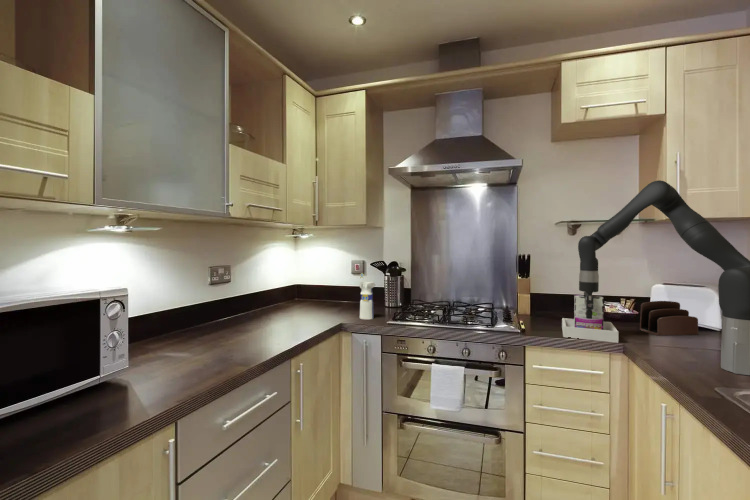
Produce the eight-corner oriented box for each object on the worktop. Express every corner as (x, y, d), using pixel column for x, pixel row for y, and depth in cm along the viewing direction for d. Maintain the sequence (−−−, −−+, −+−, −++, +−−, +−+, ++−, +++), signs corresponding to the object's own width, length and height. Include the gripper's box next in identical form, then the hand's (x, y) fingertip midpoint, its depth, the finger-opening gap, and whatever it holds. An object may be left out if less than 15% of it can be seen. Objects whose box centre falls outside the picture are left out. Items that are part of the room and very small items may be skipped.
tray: (618, 342, 148) (618, 331, 148) (563, 337, 157) (563, 326, 157) (610, 331, 166) (611, 322, 166) (562, 327, 175) (562, 318, 175)
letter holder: (639, 330, 170) (639, 300, 169) (678, 329, 171) (678, 300, 171) (657, 336, 160) (658, 304, 159) (698, 335, 162) (699, 303, 161)
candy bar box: (602, 332, 161) (602, 296, 161) (603, 335, 157) (604, 297, 157) (573, 329, 166) (574, 294, 166) (574, 332, 162) (574, 295, 161)
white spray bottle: (372, 320, 189) (373, 272, 189) (357, 319, 191) (357, 272, 191) (376, 316, 197) (376, 271, 197) (361, 316, 199) (361, 270, 199)
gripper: (600, 282, 153) (599, 320, 153) (596, 279, 166) (596, 314, 166) (580, 281, 156) (579, 319, 157) (578, 278, 169) (577, 313, 169)
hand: (588, 316), depth 161 cm, fingers open, 8 cm apart
